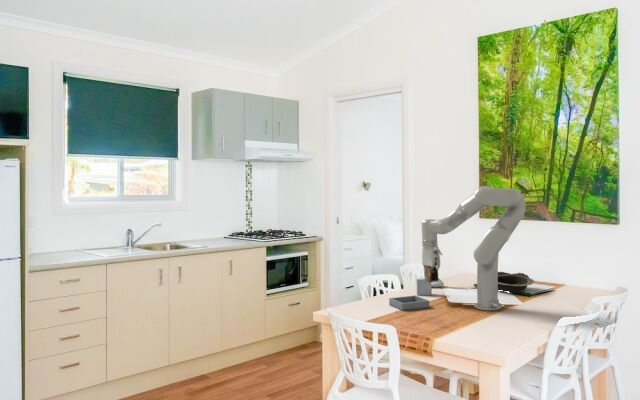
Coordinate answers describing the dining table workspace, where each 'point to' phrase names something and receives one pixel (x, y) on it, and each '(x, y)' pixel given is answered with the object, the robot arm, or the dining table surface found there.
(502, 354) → the dining table surface
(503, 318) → the dining table surface
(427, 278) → the walnut block
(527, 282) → the stone bowl
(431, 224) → the robot arm
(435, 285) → the flower in vase
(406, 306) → the tray
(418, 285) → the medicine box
